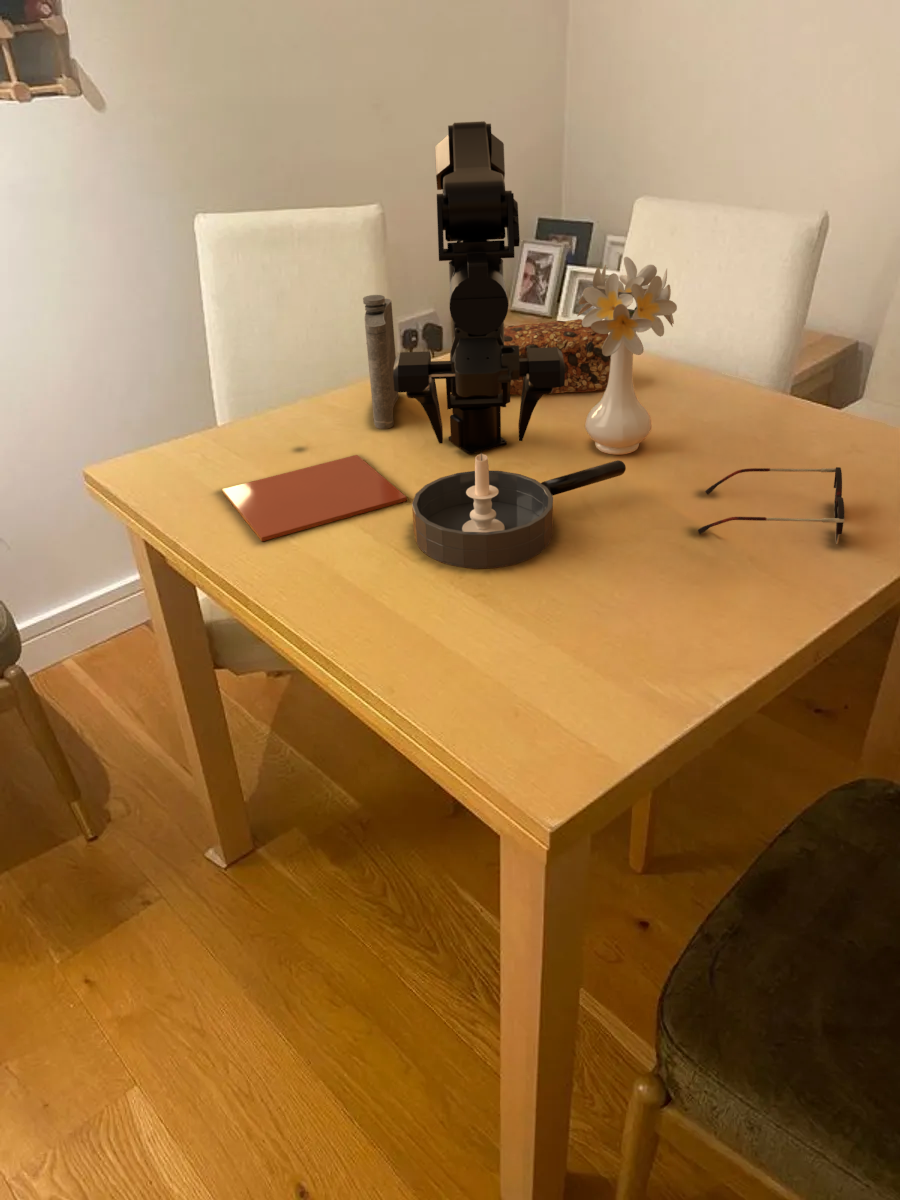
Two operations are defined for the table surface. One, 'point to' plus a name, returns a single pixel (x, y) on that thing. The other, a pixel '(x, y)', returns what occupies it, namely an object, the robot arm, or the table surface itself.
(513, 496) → the pan
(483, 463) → the candle
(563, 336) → the bread
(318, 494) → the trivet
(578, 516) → the table surface
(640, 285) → the flower vase
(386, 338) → the flask
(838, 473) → the sunglasses
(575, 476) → the pan handle
